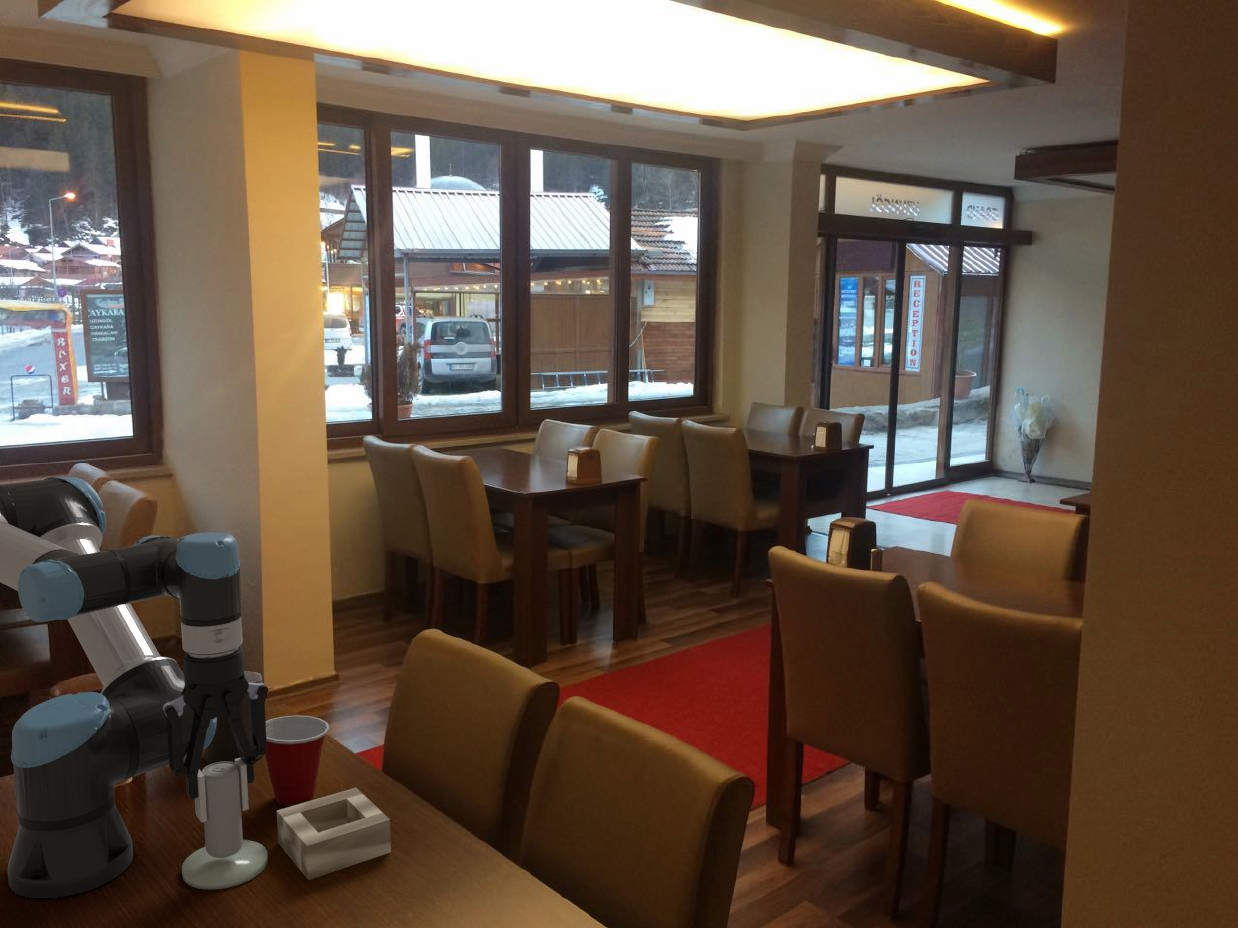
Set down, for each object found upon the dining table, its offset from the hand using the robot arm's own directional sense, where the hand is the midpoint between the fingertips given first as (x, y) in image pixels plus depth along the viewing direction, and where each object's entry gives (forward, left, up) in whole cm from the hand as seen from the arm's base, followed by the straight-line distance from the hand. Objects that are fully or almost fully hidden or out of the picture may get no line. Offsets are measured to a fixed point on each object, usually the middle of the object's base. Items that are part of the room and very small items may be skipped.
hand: (222, 811), depth 139 cm
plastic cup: (-14, +15, -8) cm, 22 cm away
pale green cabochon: (0, 0, -8) cm, 8 cm away
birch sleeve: (+4, +14, -8) cm, 17 cm away
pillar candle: (-35, +12, -8) cm, 38 cm away
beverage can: (0, 0, -6) cm, 6 cm away
